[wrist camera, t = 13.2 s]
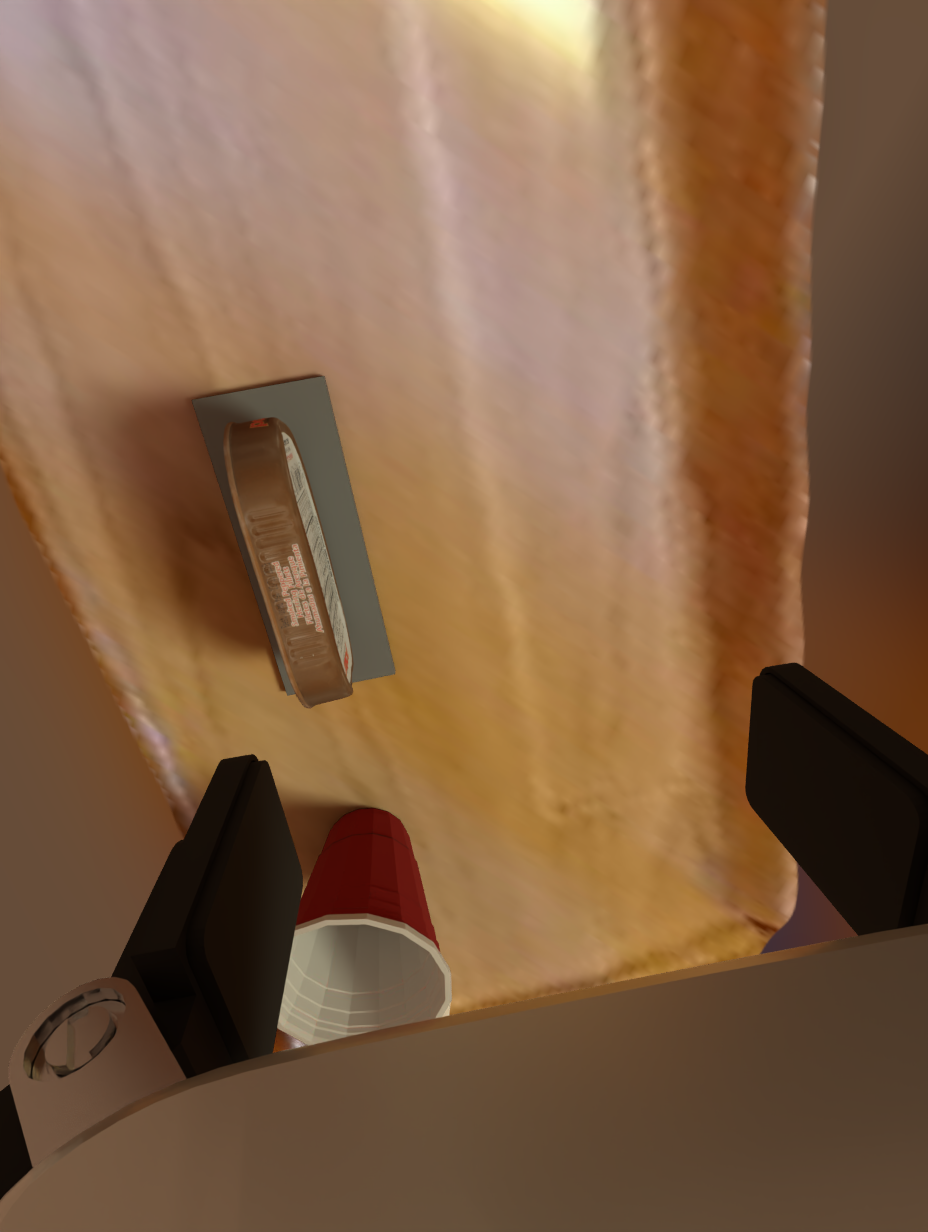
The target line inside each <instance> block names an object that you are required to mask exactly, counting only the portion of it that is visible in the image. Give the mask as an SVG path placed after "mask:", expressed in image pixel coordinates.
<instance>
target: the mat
mask: <svg viewBox="0 0 928 1232" xmlns="http://www.w3.org/2000/svg"><path fill="white" fill-rule="evenodd" d="M192 403H193V406H194V409H195V412H196V415H197V418H198V421H199V425H200V428H201V431H202V434H203V437H204V440H205V443H206V446H207V449H208V452H209V455H210V458H211V462H212V465H213V468H214V471H215V474H216V477H217V480H218V483H219V486H220V489H221V492H222V495H223V499H224V502H225V505H226V508H227V511H228V514H229V517H230V520H231V523H232V526H233V529H234V532H235V535H236V539H237V542H238V545H239V548H240V551H241V554H242V557H243V560H244V563H245V566H246V569H247V572H248V576H249V579H250V582H251V585H252V588H253V591H254V594H255V597H256V600H257V603H258V606H259V609H260V613H261V616H262V619H263V622H264V625H265V628H266V631H267V634H268V637H269V640H270V643H271V646H272V650H273V653H274V656H275V659H276V662H277V665H278V668H279V671H280V674H281V677H282V680H283V683H284V686H285V690H286V693H287V696H288V695H293V694H295V692H294V689H293V687H292V685H291V683H290V680H289V678H288V675H287V672H286V669H285V666H284V663H283V660H282V657H281V653H280V650H279V647H278V644H277V640H276V637H275V635H274V631H273V628H272V625H271V621H270V618H269V615H268V612H267V609H266V606H265V603H264V600H263V596H262V593H261V590H260V587H259V584H258V581H257V578H256V575H255V572H254V568H253V565H252V562H251V558H250V556H249V553H248V550H247V546H246V543H245V540H244V537H243V534H242V531H241V528H240V524H239V521H238V518H237V514H236V511H235V507H234V504H233V499H232V496H231V492H230V487H229V482H228V477H227V471H226V466H225V459H224V451H223V446H224V445H223V439H224V429H225V426H226V425H227V424H228V423H229V422H235V423H243V422H249V421H253V420H258V419H263V418H270V417H275V418H278V419H279V420H281V421H282V422H284V423H285V424H286V425H287V426H288V427H289V428H290V430H291V432H292V434H293V436H294V438H295V440H296V443H297V445H298V448H299V451H300V454H301V457H302V460H303V463H304V466H305V469H306V472H307V475H308V479H309V482H310V485H311V489H312V492H313V496H314V499H315V503H316V506H317V510H318V514H319V517H320V521H321V524H322V528H323V532H324V535H325V539H326V543H327V547H328V551H329V554H330V559H331V563H332V567H333V571H334V575H335V579H336V583H337V587H338V591H339V594H340V598H341V602H342V606H343V610H344V614H345V618H346V623H347V627H348V632H349V637H350V642H351V648H352V654H353V663H354V665H353V672H352V683H353V682H358V681H363V680H368V679H373V678H378V677H383V676H388V675H393V674H395V667H394V663H393V659H392V655H391V651H390V646H389V642H388V638H387V634H386V630H385V626H384V621H383V617H382V613H381V609H380V605H379V601H378V596H377V592H376V588H375V584H374V580H373V576H372V572H371V567H370V563H369V559H368V555H367V551H366V547H365V542H364V538H363V534H362V530H361V526H360V522H359V517H358V513H357V509H356V505H355V501H354V497H353V492H352V488H351V484H350V480H349V476H348V472H347V468H346V463H345V459H344V455H343V451H342V447H341V443H340V438H339V434H338V430H337V426H336V422H335V418H334V413H333V409H332V405H331V401H330V397H329V393H328V388H327V384H326V380H325V376H321V377H316V378H310V379H305V380H299V381H294V382H288V383H283V384H277V385H272V386H266V387H261V388H255V389H250V390H244V391H239V392H233V393H228V394H222V395H217V396H211V397H206V398H200V399H195V400H192Z"/></svg>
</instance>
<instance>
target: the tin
mask: <svg viewBox="0 0 928 1232" xmlns="http://www.w3.org/2000/svg"><path fill="white" fill-rule="evenodd" d="M223 445H224V446H223V451H224V459H225V466H226V471H227V477H228V482H229V487H230V492H231V496H232V499H233V504H234V507H235V511H236V514H237V518H238V521H239V524H240V528H241V531H242V534H243V537H244V540H245V543H246V546H247V550H248V553H249V556H250V558H251V562H252V565H253V568H254V572H255V575H256V578H257V581H258V584H259V587H260V590H261V593H262V596H263V600H264V603H265V606H266V609H267V612H268V615H269V618H270V621H271V625H272V628H273V631H274V635H275V637H276V640H277V644H278V647H279V650H280V653H281V657H282V660H283V663H284V666H285V669H286V672H287V675H288V678H289V680H290V683H291V685H292V687H293V689H294V692H295V694H296V696H297V697H298V699H299V700H300V702H301V703H302V705H303V706H304V707H306V708H312V707H313V706H315V705H318V704H321V703H326V702H330V701H334V700H338V699H342V698H345V697H348V696H350V695H352V693H353V688H352V672H353V665H354V663H353V654H352V648H351V642H350V637H349V632H348V627H347V623H346V618H345V614H344V610H343V606H342V602H341V598H340V594H339V591H338V587H337V583H336V579H335V575H334V571H333V567H332V563H331V559H330V554H329V551H328V547H327V543H326V539H325V535H324V532H323V528H322V524H321V521H320V517H319V514H318V510H317V506H316V503H315V499H314V496H313V492H312V489H311V485H310V482H309V479H308V475H307V472H306V469H305V466H304V463H303V460H302V457H301V454H300V451H299V448H298V445H297V443H296V440H295V438H294V436H293V434H292V432H291V430H290V428H289V427H288V426H287V425H286V424H285V423H284V422H282V421H281V420H279V419H278V418H275V417H270V418H263V419H258V420H253V421H249V422H243V423H235V422H229V423H228V424H227V425H226V426H225V429H224V439H223Z"/></svg>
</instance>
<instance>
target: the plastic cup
mask: <svg viewBox="0 0 928 1232" xmlns="http://www.w3.org/2000/svg"><path fill="white" fill-rule="evenodd" d="M451 1001H452V993H451V972H450V969H449V966H448V964H447V963H446V961H445V960H444V958H443V956H442V955H441V953H440V949H439V943H438V942H437V940H436V936H435V930H434V927H433V925H432V923H431V919H430V915H429V911H428V906H427V902H426V898H425V894H424V889H423V885H422V881H421V877H420V873H419V868H418V864H417V861H416V860H415V858H414V854H413V850H412V846H411V842H410V837H409V835H408V833H407V831H406V829H405V828H404V826H403V824H402V823H401V821H400V820H399V819H398V818H397V817H395V816H394V815H392V814H391V813H389V812H387V811H383V810H379V809H375V808H369V809H358V810H355V811H353V812H351V813H348V814H346V815H344V816H343V817H342V818H341V819H340V820H338V821H337V822H336V823H335V824H334V826H333V828H332V829H331V830H330V832H329V835H328V837H327V840H326V842H325V845H324V848H323V850H322V853H321V854H320V855H319V857H318V860H317V862H316V864H315V867H314V869H313V872H312V874H311V876H310V879H309V881H308V884H307V886H306V888H305V891H304V893H303V896H302V898H301V900H300V905H299V911H298V916H297V922H296V927H295V933H294V938H293V944H292V949H291V955H290V960H289V966H288V971H287V977H286V982H285V988H284V993H283V998H282V1004H281V1009H280V1015H279V1020H278V1026H277V1027H278V1029H280V1030H281V1031H283V1032H285V1033H287V1034H289V1035H290V1036H292V1037H294V1038H296V1039H298V1040H299V1041H301V1042H303V1043H305V1044H307V1045H312V1044H316V1043H321V1042H326V1041H330V1040H335V1039H339V1038H344V1037H348V1036H353V1035H357V1034H362V1033H366V1032H371V1031H376V1030H380V1029H385V1028H390V1027H395V1026H400V1025H405V1024H410V1023H415V1022H420V1021H425V1020H430V1019H435V1018H440V1017H442V1016H443V1015H444V1013H445V1011H446V1009H447V1008H448V1006H449V1004H450V1002H451Z"/></svg>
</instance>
